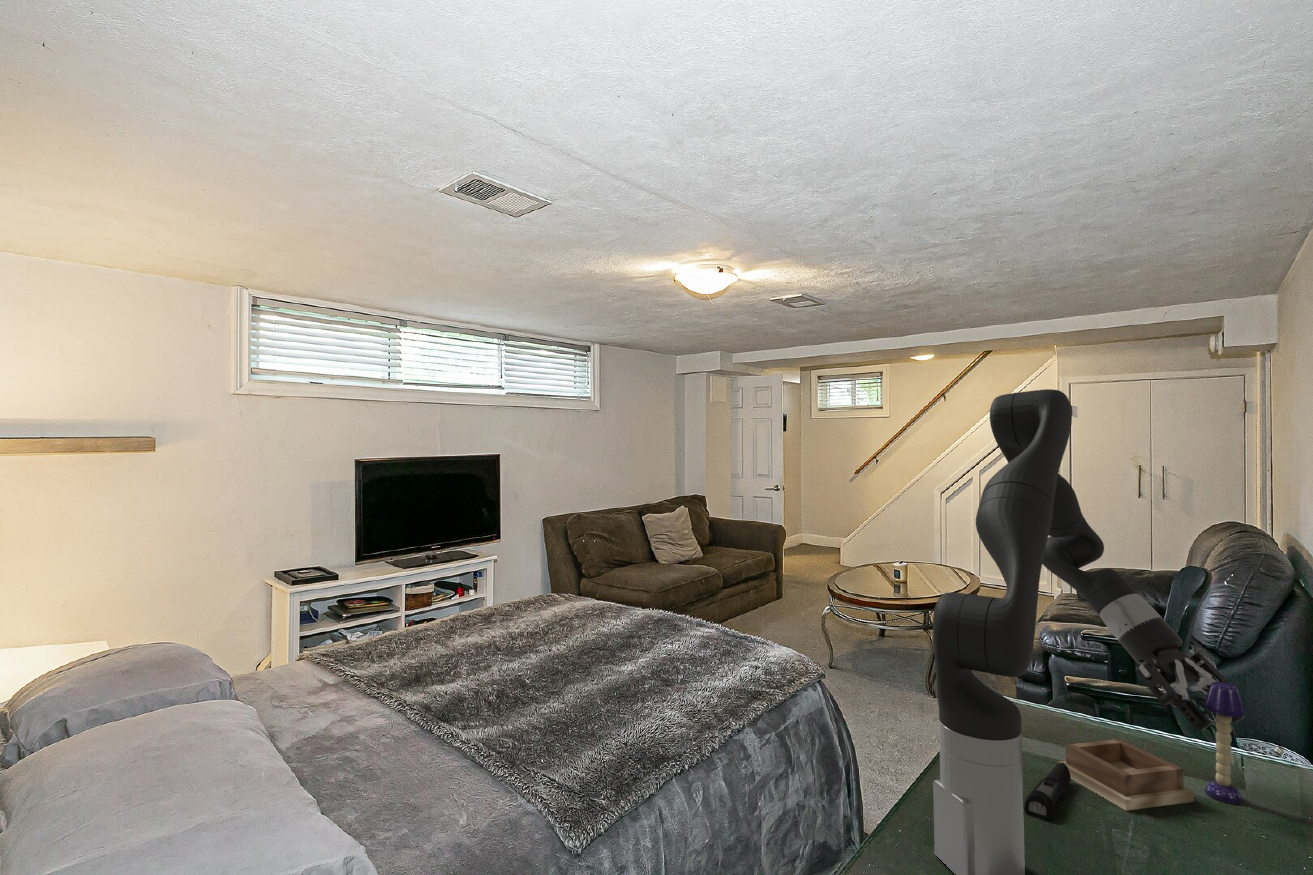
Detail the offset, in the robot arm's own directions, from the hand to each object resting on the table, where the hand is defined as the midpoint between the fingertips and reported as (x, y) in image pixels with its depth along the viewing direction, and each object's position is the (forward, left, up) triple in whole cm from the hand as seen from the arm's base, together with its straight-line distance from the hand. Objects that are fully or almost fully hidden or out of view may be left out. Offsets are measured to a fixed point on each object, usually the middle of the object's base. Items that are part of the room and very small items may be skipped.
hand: (1222, 723), depth 96 cm
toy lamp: (0, 0, -11) cm, 11 cm away
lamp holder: (-12, +6, -11) cm, 17 cm away
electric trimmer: (-26, +5, -11) cm, 29 cm away
